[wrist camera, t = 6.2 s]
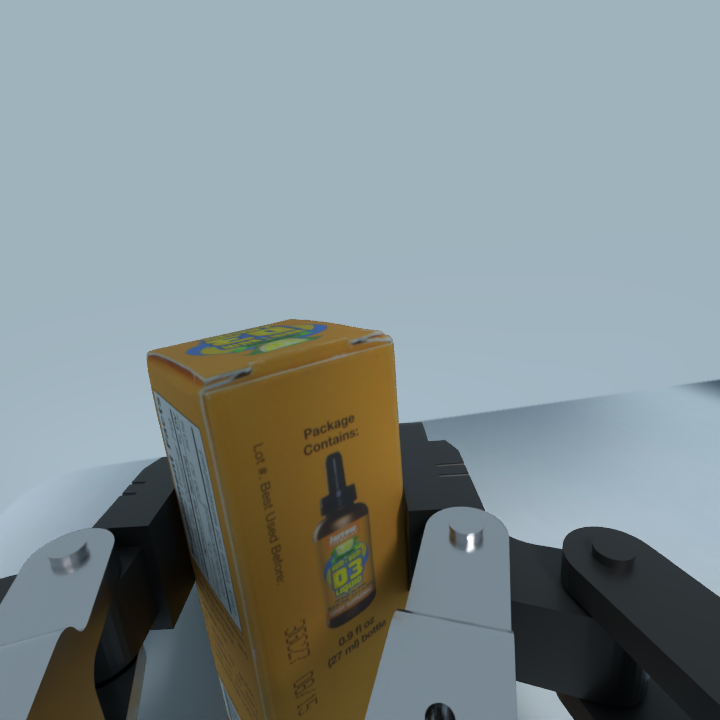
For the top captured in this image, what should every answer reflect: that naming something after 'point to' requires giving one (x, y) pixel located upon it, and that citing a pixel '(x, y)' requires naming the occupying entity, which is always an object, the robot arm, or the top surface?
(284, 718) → the supplement box
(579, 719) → the robot arm
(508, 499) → the top surface
